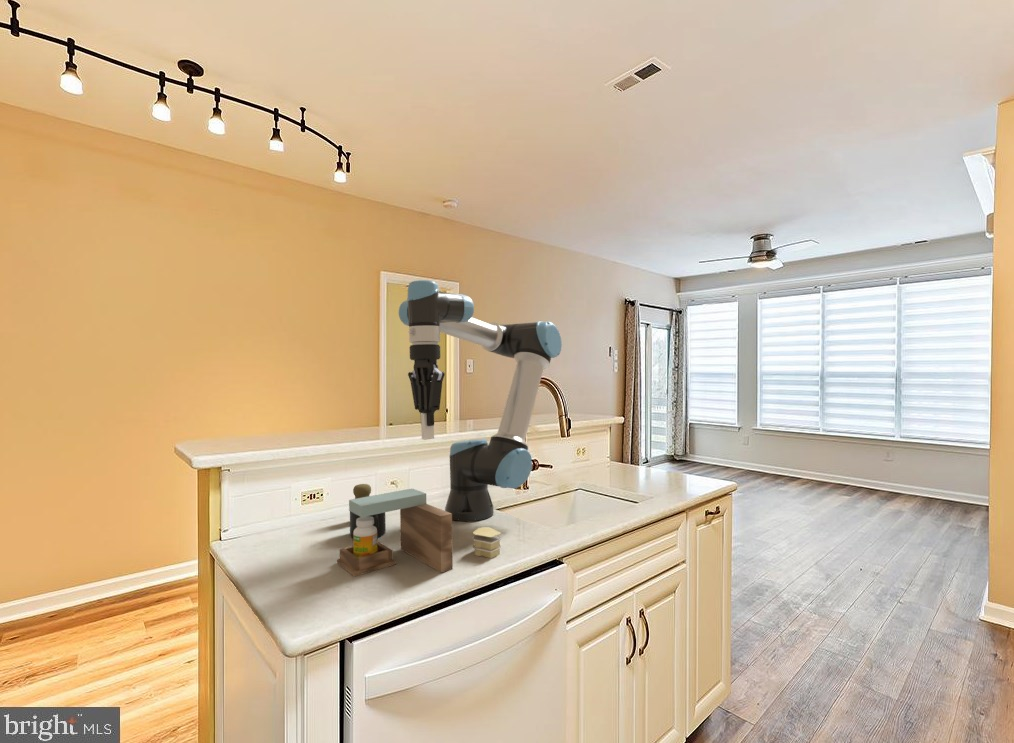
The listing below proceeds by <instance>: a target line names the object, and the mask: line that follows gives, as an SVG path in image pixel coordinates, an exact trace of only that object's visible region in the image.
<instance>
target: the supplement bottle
mask: <svg viewBox="0 0 1014 743" xmlns="http://www.w3.org/2000/svg"><path fill="white" fill-rule="evenodd" d="M373 525H374V518H373V517H370V516H366V517H360V518H357V520H356V526H357V528H356V529H355V530H354V532H353V538H352V539H353V544H352V546H353V555H354V556H356V557H357V558H358V557H362V556H366V555H370V554H373V553H377V541H378V538H377V528H376V527H375V526H373Z"/></svg>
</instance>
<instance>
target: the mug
mask: <svg viewBox="0 0 1014 743" xmlns="http://www.w3.org/2000/svg"><path fill="white" fill-rule="evenodd" d="M370 517H373V518H374V525H373V526H375V527H376V528H377V539H378V538H380V537H383V536H385V534H386V530H387V529H386V526H387V525H386V512H385V513H380V514H375V515H370ZM357 518H360V516H358V515H356V514H354V513H353V512H351V511H349V536H350V537H351V539H353V532H354V530H355V529H356V528H357V526H356V520H357Z"/></svg>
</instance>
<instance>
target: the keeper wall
mask: <svg viewBox="0 0 1014 743" xmlns="http://www.w3.org/2000/svg"><path fill="white" fill-rule="evenodd" d="M399 511H400V512H399V514H400V516H399V517H400V519H399V520H400V522H399V524H400V527H399V528H400V550H401V551H403V552H404V553H406V554H408V555H410V556H411V557H414V558H415V559H417V560H419V561H421V562H422V563H424V564H425V565H427V566H429V567H431V568H432V569H434V570H436V571H438V572H439V573H444V572H447V571H450V570H453V567H454V566H453V520H452V514H451V513H449V512H446V511H445V509H444V510H443V509H441V508H438V507H436V506H434V505H431V504H428V503H426V504H423V505H418V506H413V507H408V508H404V509H399Z"/></svg>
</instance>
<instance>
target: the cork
mask: <svg viewBox="0 0 1014 743" xmlns="http://www.w3.org/2000/svg"><path fill="white" fill-rule="evenodd" d="M352 493H353V495H354V499H357V498H362V497H368V496H371V495H370V494H372V487H371V486H370V484H368V483H359V484H356V485H354V487H353V490H352Z"/></svg>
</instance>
